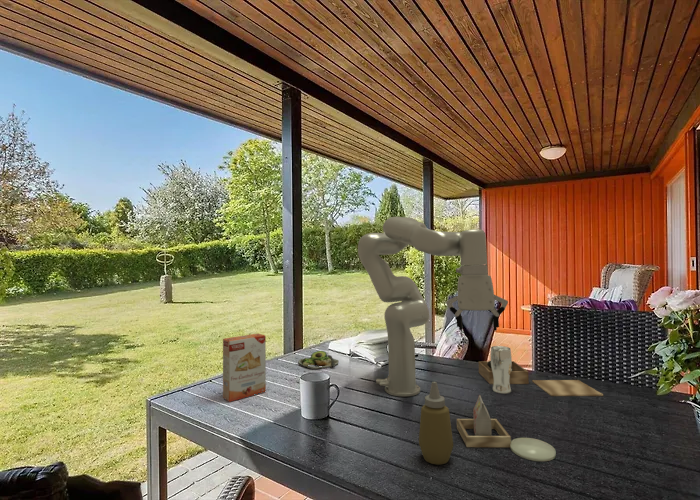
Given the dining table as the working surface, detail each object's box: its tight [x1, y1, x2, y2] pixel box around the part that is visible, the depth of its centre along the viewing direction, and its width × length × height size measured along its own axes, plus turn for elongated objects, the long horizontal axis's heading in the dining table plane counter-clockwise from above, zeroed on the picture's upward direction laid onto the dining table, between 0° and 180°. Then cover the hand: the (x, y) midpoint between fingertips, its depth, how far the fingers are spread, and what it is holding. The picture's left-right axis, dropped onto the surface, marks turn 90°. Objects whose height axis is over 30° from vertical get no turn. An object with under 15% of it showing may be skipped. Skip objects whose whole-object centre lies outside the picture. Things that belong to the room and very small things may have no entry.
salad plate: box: [298, 350, 340, 370], centre depth 173 cm, size 19×18×5 cm
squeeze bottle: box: [418, 381, 454, 465], centre depth 91 cm, size 8×8×18 cm
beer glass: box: [490, 345, 513, 395], centre depth 135 cm, size 7×7×15 cm
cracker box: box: [222, 333, 267, 403], centre depth 136 cm, size 14×6×21 cm, turn 131°
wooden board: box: [531, 379, 604, 397], centre depth 136 cm, size 17×15×1 cm
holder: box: [456, 418, 512, 448], centre depth 101 cm, size 11×11×2 cm
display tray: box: [478, 360, 530, 385], centre depth 148 cm, size 14×14×4 cm
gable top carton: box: [472, 394, 493, 436], centre depth 101 cm, size 4×7×10 cm, turn 168°
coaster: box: [509, 437, 557, 462], centre depth 93 cm, size 10×10×1 cm
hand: (477, 329), depth 112 cm, fingers open, 9 cm apart
